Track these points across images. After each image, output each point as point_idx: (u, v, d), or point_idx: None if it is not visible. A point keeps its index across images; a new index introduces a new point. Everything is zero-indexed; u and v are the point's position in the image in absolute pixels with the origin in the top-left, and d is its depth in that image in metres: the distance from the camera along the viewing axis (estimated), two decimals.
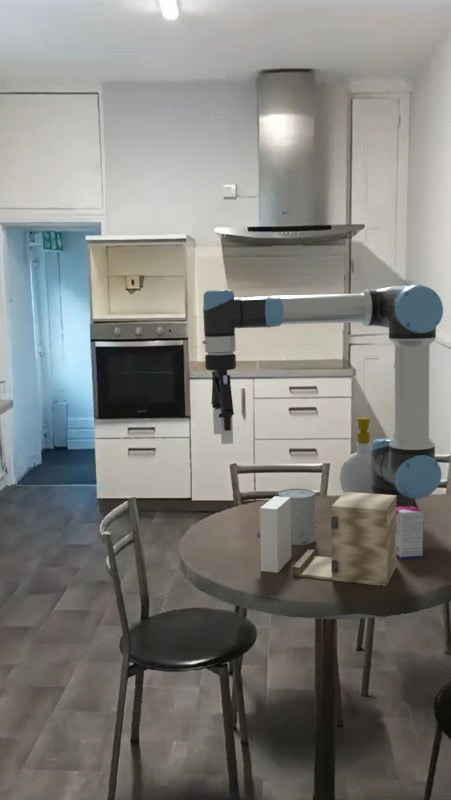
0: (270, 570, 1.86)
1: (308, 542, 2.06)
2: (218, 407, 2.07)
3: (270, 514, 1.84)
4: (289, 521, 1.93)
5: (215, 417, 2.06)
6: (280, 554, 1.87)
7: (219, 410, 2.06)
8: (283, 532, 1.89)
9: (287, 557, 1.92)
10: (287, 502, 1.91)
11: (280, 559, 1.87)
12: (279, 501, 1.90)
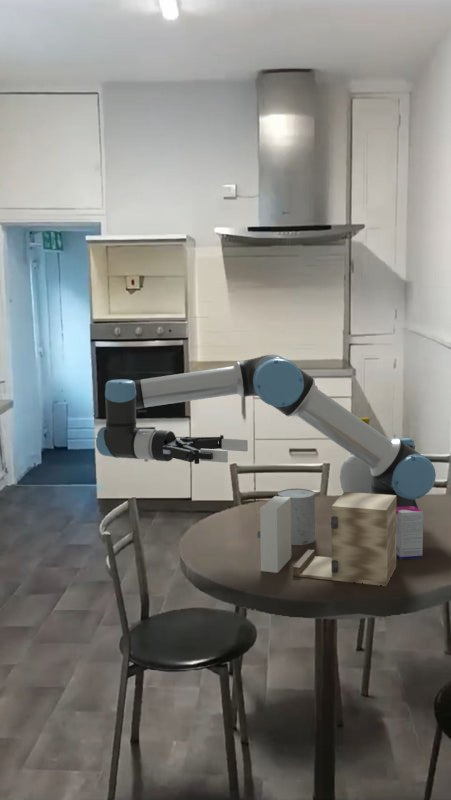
0: (270, 570, 1.86)
1: (308, 542, 2.06)
2: (221, 443, 2.00)
3: (270, 514, 1.84)
4: (289, 521, 1.93)
5: (229, 448, 1.99)
6: (280, 554, 1.87)
7: (223, 443, 1.99)
8: (283, 532, 1.89)
9: (287, 557, 1.92)
10: (287, 502, 1.91)
11: (280, 559, 1.87)
12: (279, 501, 1.90)
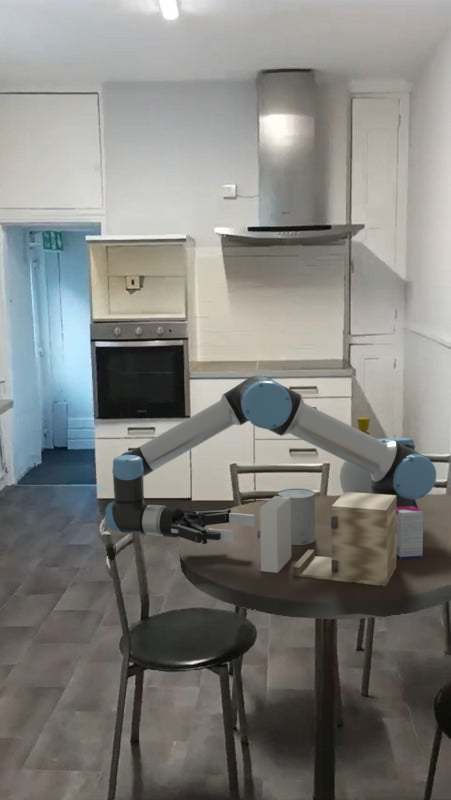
0: (270, 570, 1.86)
1: (308, 542, 2.06)
2: (229, 517, 2.02)
3: (270, 514, 1.84)
4: (289, 521, 1.93)
5: (237, 523, 2.00)
6: (280, 554, 1.87)
7: (230, 518, 2.01)
8: (283, 532, 1.89)
9: (287, 557, 1.92)
10: (287, 502, 1.91)
11: (280, 559, 1.87)
12: (279, 501, 1.90)
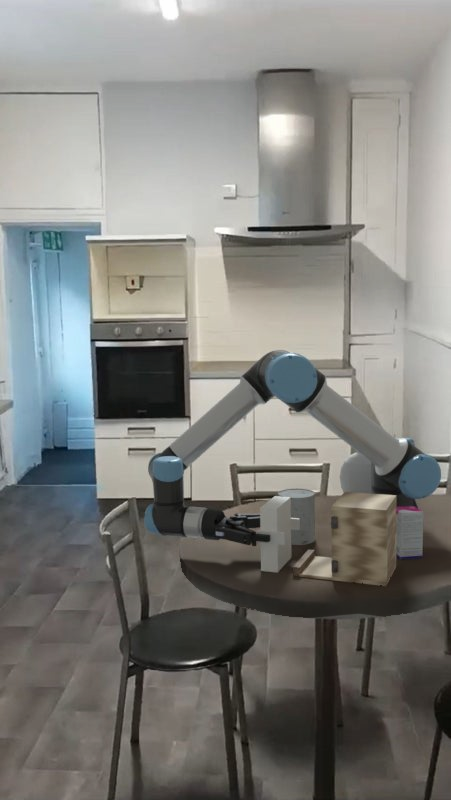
0: (270, 570, 1.86)
1: (308, 542, 2.06)
2: None
3: (270, 514, 1.84)
4: (289, 521, 1.93)
5: None
6: (280, 554, 1.87)
7: None
8: None
9: (287, 557, 1.92)
10: (287, 502, 1.91)
11: (280, 559, 1.87)
12: (279, 501, 1.90)
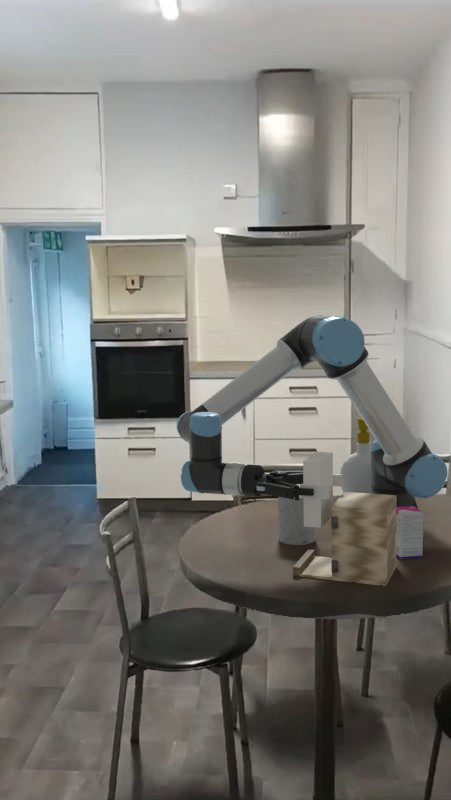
0: (313, 525, 1.81)
1: (308, 542, 2.06)
2: None
3: (314, 467, 1.79)
4: (331, 477, 1.88)
5: None
6: (324, 509, 1.82)
7: None
8: None
9: (329, 514, 1.87)
10: (330, 457, 1.86)
11: (323, 514, 1.82)
12: (322, 455, 1.84)
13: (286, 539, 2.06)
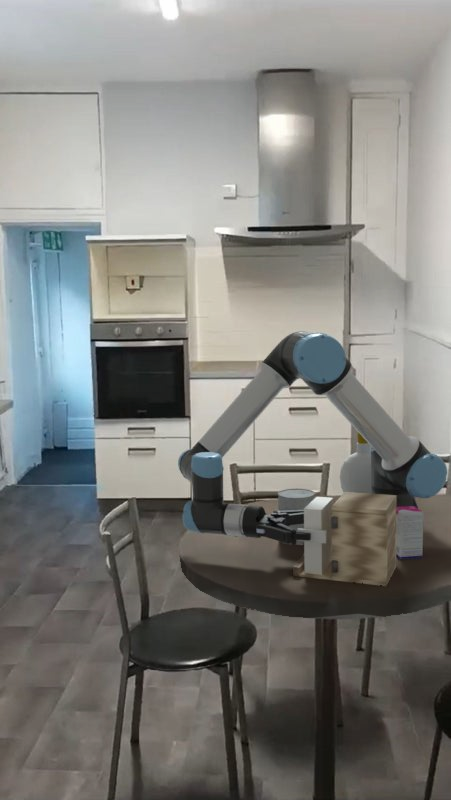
0: (314, 572, 1.82)
1: None
2: None
3: (315, 515, 1.80)
4: None
5: None
6: (324, 555, 1.84)
7: None
8: (326, 533, 1.85)
9: (329, 559, 1.88)
10: (330, 503, 1.87)
11: (324, 561, 1.84)
12: (322, 502, 1.86)
13: None
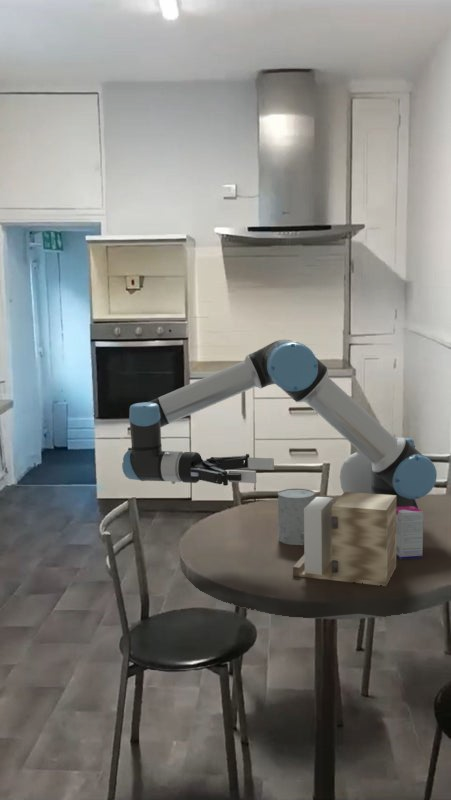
0: (314, 572, 1.82)
1: None
2: (247, 462, 2.00)
3: (315, 515, 1.80)
4: None
5: (256, 467, 1.99)
6: (324, 555, 1.84)
7: (249, 462, 2.00)
8: (326, 533, 1.85)
9: (329, 559, 1.88)
10: (330, 503, 1.87)
11: (324, 561, 1.84)
12: (322, 502, 1.86)
13: (286, 539, 2.06)
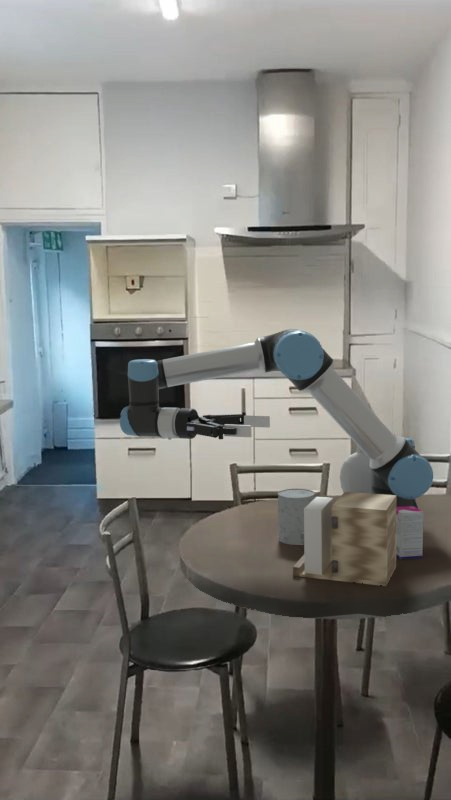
0: (314, 572, 1.82)
1: None
2: (243, 420, 2.02)
3: (315, 515, 1.80)
4: None
5: (252, 425, 2.01)
6: (324, 555, 1.84)
7: (245, 420, 2.01)
8: (326, 533, 1.85)
9: (329, 559, 1.88)
10: (330, 503, 1.87)
11: (324, 561, 1.84)
12: (322, 502, 1.86)
13: (286, 539, 2.06)
